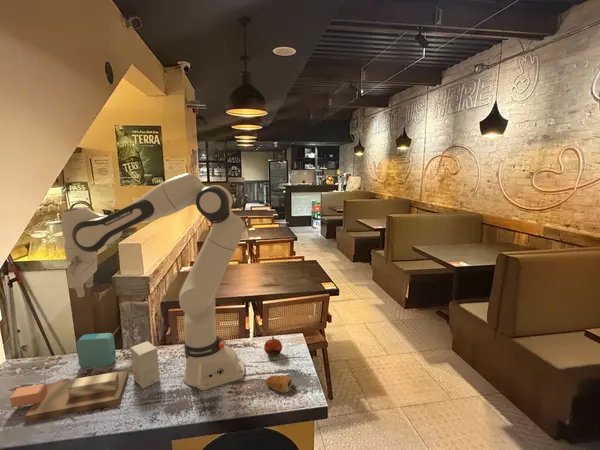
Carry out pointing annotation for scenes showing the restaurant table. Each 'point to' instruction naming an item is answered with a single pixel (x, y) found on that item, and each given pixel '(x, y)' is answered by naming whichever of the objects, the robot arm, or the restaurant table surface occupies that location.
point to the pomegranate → (273, 347)
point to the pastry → (280, 383)
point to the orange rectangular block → (28, 395)
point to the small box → (145, 364)
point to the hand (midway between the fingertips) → (85, 291)
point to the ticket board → (80, 395)
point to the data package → (96, 350)
